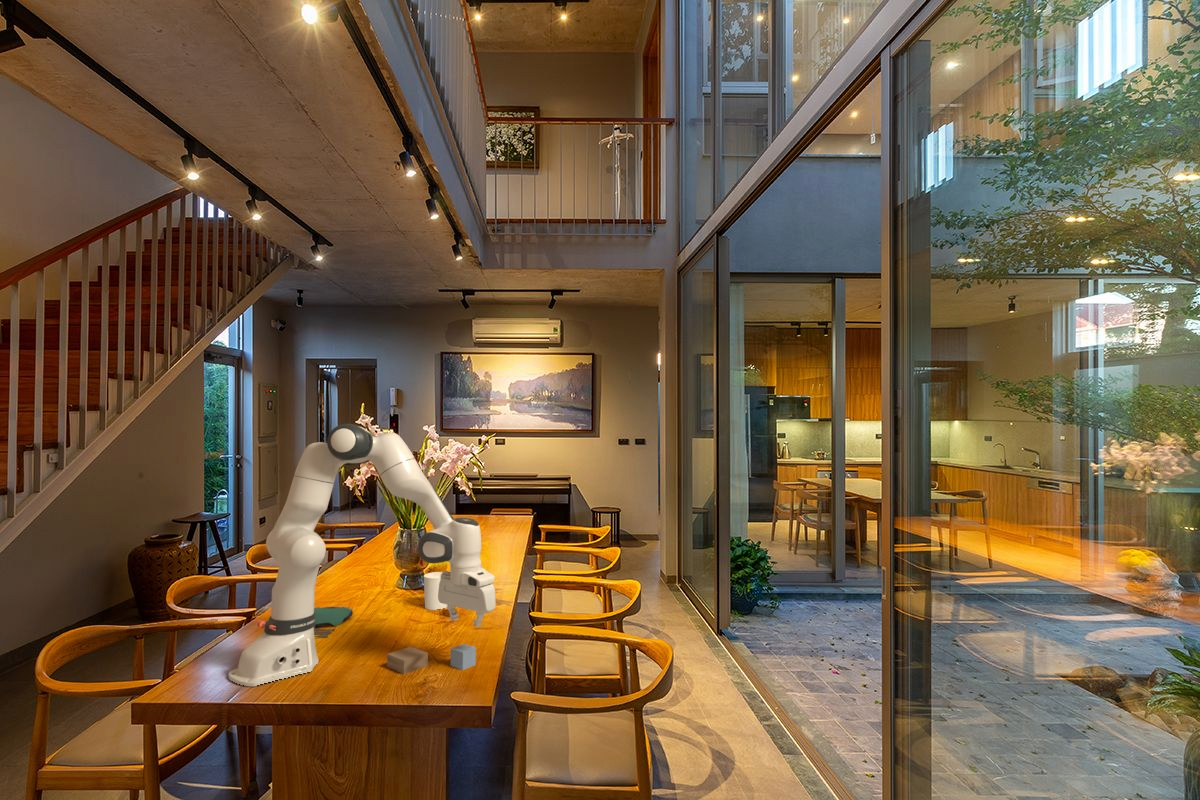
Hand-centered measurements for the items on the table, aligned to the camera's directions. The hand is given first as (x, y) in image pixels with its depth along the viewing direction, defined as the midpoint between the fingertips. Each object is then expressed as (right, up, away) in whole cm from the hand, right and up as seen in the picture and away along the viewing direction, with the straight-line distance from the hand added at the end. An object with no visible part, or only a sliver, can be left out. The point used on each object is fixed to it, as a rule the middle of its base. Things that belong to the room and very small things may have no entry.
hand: (465, 623), depth 180 cm
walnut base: (-16, -12, -3) cm, 20 cm away
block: (-1, -12, -1) cm, 12 cm away
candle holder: (-23, -14, +56) cm, 62 cm away
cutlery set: (-58, -13, +34) cm, 68 cm away
